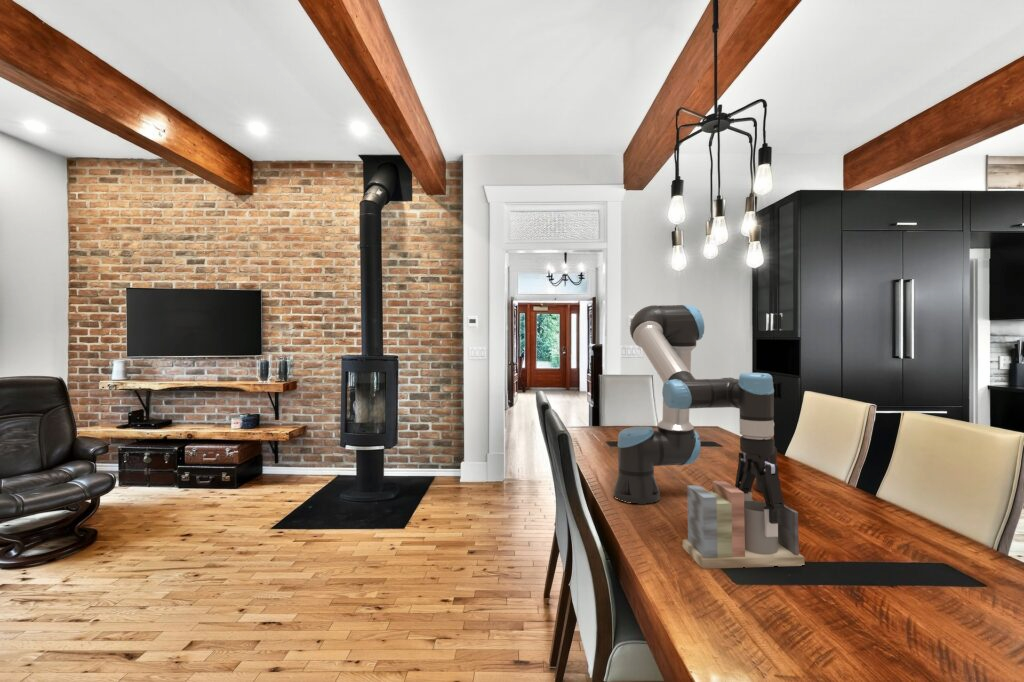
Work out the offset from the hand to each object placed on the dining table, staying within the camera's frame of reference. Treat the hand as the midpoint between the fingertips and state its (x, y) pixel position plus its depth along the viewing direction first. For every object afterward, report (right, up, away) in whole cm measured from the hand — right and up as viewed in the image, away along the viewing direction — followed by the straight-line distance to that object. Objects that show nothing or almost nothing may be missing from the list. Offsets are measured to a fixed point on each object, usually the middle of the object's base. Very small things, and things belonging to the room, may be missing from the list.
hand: (758, 527), depth 120 cm
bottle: (+29, -7, +52) cm, 60 cm away
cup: (0, -5, 0) cm, 5 cm away
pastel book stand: (-4, -7, 0) cm, 8 cm away
